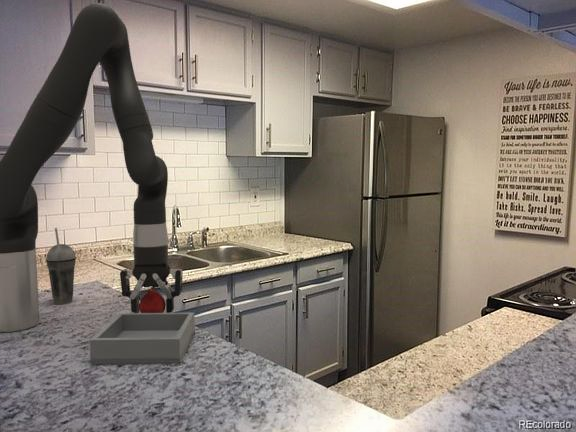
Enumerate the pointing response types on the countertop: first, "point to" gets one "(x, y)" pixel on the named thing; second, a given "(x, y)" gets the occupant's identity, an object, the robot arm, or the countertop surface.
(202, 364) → the countertop surface
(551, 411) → the countertop surface
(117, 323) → the tray
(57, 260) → the beverage cup
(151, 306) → the onion
